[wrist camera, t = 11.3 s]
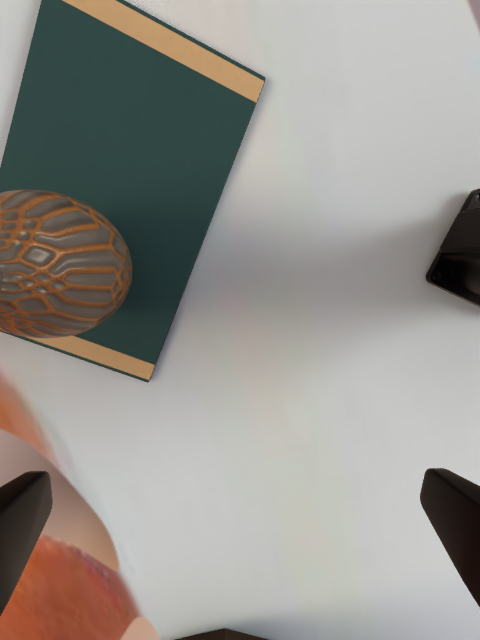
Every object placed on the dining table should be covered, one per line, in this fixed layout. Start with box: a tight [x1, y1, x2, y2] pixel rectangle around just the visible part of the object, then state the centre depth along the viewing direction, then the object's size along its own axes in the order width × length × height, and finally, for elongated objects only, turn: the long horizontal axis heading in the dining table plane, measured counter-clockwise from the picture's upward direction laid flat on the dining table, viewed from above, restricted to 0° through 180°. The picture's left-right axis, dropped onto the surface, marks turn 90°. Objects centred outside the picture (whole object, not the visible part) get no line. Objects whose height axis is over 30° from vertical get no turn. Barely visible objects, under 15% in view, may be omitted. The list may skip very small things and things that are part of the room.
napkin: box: [0, 0, 265, 382], centre depth 17 cm, size 12×20×1 cm, turn 157°
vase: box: [0, 190, 132, 338], centre depth 13 cm, size 7×7×9 cm
